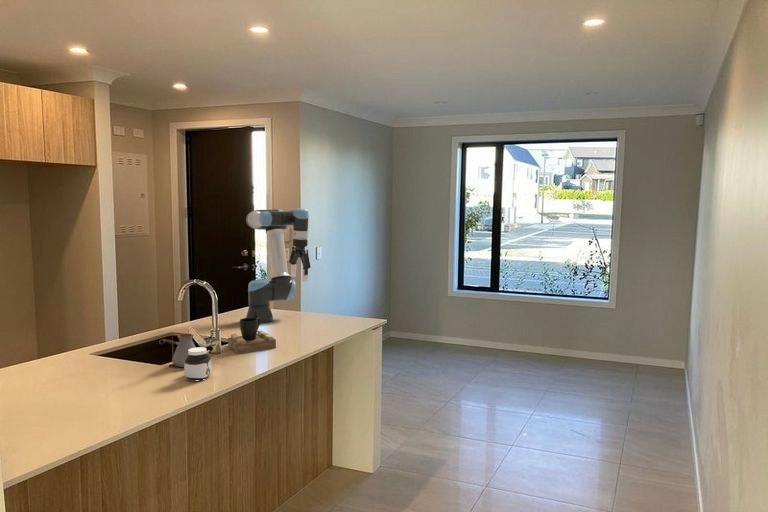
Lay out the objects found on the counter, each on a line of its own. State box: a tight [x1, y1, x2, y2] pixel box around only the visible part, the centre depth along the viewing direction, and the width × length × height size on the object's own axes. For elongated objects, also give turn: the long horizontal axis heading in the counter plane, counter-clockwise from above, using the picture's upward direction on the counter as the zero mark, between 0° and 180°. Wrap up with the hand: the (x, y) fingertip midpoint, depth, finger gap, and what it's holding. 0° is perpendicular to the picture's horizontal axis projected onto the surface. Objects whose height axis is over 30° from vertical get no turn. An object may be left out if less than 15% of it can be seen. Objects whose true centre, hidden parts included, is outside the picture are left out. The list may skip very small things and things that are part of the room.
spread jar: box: [183, 346, 212, 381], centre depth 228 cm, size 12×11×12 cm
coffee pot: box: [159, 333, 197, 368], centre depth 239 cm, size 21×12×15 cm, turn 163°
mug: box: [239, 317, 261, 341], centre depth 273 cm, size 8×12×10 cm
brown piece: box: [227, 330, 277, 354], centre depth 273 cm, size 15×18×6 cm
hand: (299, 279), depth 303 cm, fingers open, 13 cm apart
